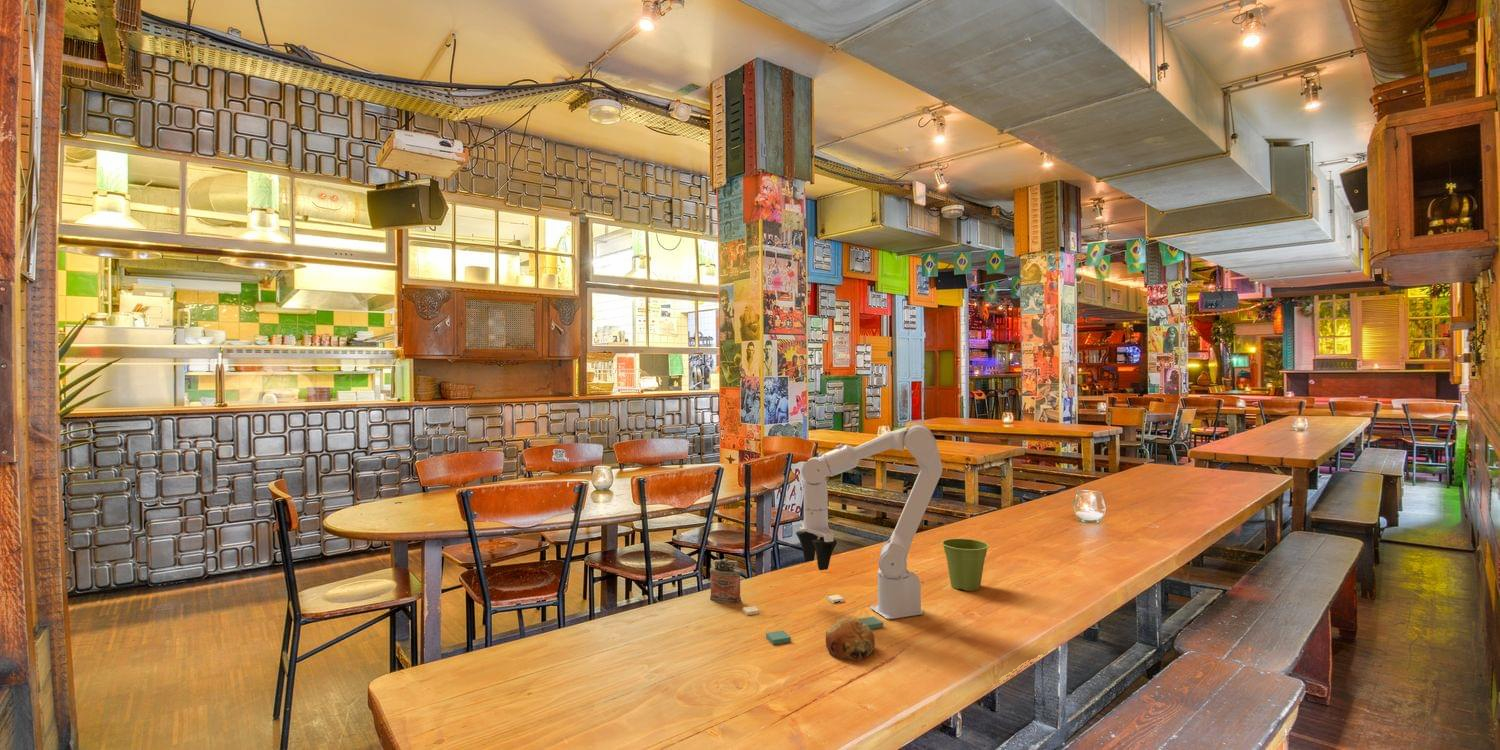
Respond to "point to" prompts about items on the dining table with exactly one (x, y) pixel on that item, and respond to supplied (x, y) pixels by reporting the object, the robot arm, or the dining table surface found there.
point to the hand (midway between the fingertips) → (816, 565)
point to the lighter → (725, 582)
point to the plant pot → (965, 562)
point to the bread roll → (850, 639)
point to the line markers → (783, 637)
